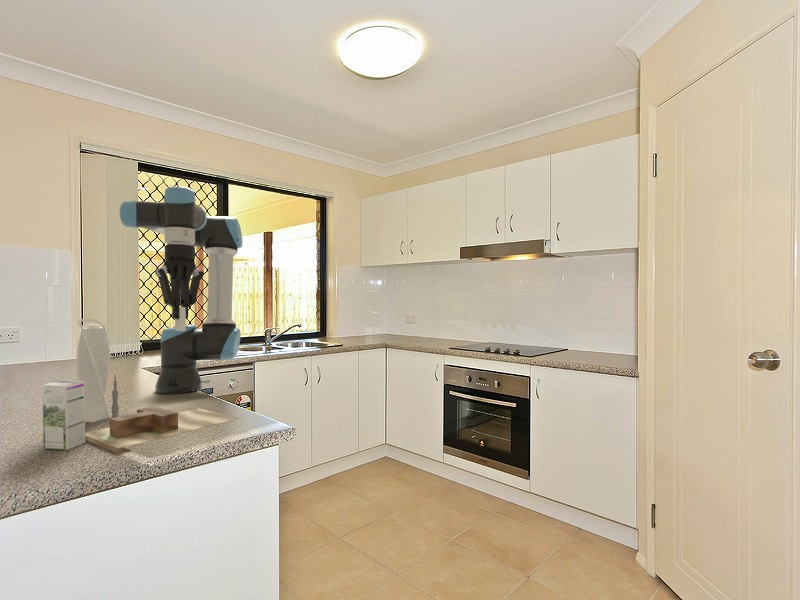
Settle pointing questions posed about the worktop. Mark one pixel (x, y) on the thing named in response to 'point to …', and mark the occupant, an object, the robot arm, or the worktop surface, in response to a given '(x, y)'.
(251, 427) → the worktop surface
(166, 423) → the t block
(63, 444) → the syrup box
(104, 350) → the skyscraper
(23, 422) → the worktop surface
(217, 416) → the board
